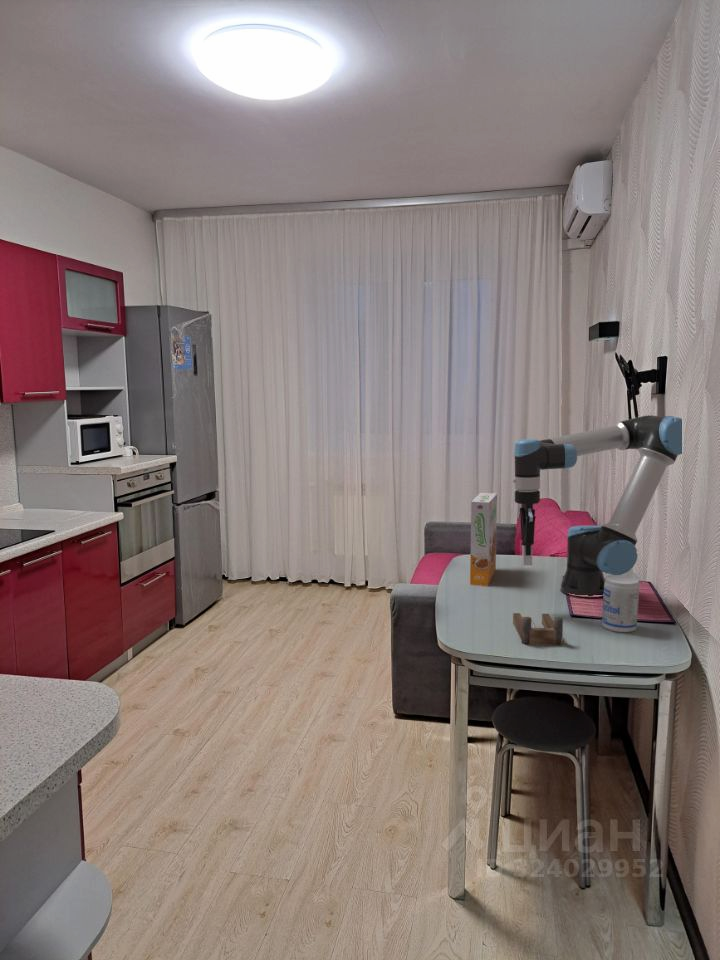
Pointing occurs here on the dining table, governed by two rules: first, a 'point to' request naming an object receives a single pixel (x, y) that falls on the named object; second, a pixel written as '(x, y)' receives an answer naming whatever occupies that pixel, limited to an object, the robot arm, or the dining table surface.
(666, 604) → the dining table surface
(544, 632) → the guide channel
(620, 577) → the supplement tub
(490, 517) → the cereal box
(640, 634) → the dining table surface
